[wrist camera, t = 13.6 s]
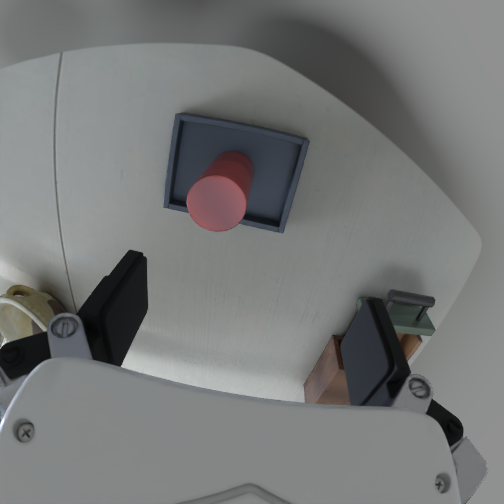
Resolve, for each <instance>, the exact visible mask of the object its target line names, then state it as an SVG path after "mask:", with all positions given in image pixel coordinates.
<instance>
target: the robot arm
mask: <svg viewBox="0 0 504 504" xmlns="http://www.w3.org/2000/svg"><path fill="white" fill-rule="evenodd" d="M147 310H148V290H147V258H146V257H145V256H143V253H142V252H138V251H134V250H129V251H128V252H127V253H126V254H125V256H124V257H123V258H122V259H121V260H120V262H119V263H118V264H117V265H116V267H115V268H114V269H113V271H112V272H111V273H110V274H109V276H105V277H104V278H103V279H102V280H101V282H100V283H99V284H98V285H97V287H96V288H95V289H94V291H93V292H92V293H91V295H90V296H89V297H88V299H87V300H86V301H85V303H84V304H83V305H82V307H81V308H80V310H79V311H78V312H77V314H76V315H75V314H73V313H60V314H58V315H56V316H54V317H53V318H52V319H51V320H50V321H49V323H48V325H47V331H45V332H41V333H38V334H35V335H31V336H28V337H24V338H21V339H17V340H14V341H10V342H8V343H6V344H5V345H3V346H2V347H1V349H0V504H466V503H467V501H468V500H469V499H470V498H471V496H472V495H473V494H474V492H475V491H476V490H477V488H478V487H479V486H480V484H481V483H482V481H483V480H484V478H485V477H486V475H487V471H488V467H487V463H486V461H485V460H484V459H483V457H482V456H481V455H480V453H479V452H478V451H477V449H476V448H475V447H474V445H473V444H472V443H471V442H470V440H469V439H468V438H467V437H465V438H463V426H462V423H461V422H460V420H459V419H458V418H457V417H456V416H454V415H453V414H452V413H450V412H449V411H448V410H446V409H445V408H444V407H442V406H441V405H440V404H438V403H437V402H436V401H434V400H433V399H432V397H433V388H432V385H431V383H430V382H429V381H428V380H427V379H426V378H425V377H423V376H421V375H418V374H411V375H410V373H409V370H410V368H409V365H408V362H407V360H406V357H405V354H404V352H403V349H402V346H401V344H400V341H399V339H398V336H397V334H396V331H395V329H394V326H393V324H392V321H391V319H390V316H389V314H388V312H387V309H386V307H385V305H384V302H383V300H382V299H379V298H373V297H369V298H368V299H367V300H364V301H363V303H362V305H361V307H360V308H359V310H358V312H357V314H356V316H355V318H354V320H353V322H352V324H351V325H350V327H349V329H348V331H347V333H346V335H345V336H344V338H343V340H342V342H341V346H340V349H341V354H342V359H343V365H344V370H345V375H346V381H347V387H348V393H349V399H350V405H351V406H349V405H327V404H312V403H301V402H290V401H281V400H273V399H265V398H258V397H251V396H244V395H238V394H232V393H226V392H221V391H216V390H210V389H205V388H201V387H196V386H191V385H187V384H182V383H178V382H174V381H170V380H166V379H162V378H158V377H154V376H151V375H147V374H143V373H139V372H136V371H132V370H129V369H125V368H122V367H121V365H122V363H123V360H124V358H125V356H126V354H127V352H128V350H129V348H130V346H131V343H132V341H133V339H134V337H135V335H136V333H137V331H138V329H139V327H140V325H141V323H142V321H143V319H144V317H145V315H146V313H147Z"/></svg>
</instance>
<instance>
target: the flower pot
mask: <svg viewBox="0 0 504 504" xmlns="http://www.w3.org/2000/svg"><path fill="white" fill-rule="evenodd" d="M3 339H4V336H3V335H2V334H1V332H0V347H1V345H2V342H3Z"/></svg>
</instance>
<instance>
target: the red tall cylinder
mask: <svg viewBox="0 0 504 504" xmlns="http://www.w3.org/2000/svg"><path fill="white" fill-rule="evenodd" d="M253 176H254V167H253V164H252V162H251V160H250V159H249V158H248V157H247V156H246V155H245V154H243V153H241V152H238V151H227V152H224V153H222V154H220V155H219V156H218V157H217V158H216V159H215V160H214V161H213V162H212V163H211V165H210V166H209V167H208V168H207V169H206V170H205V171H204V173H203V174H202V175H201V176H200V177H199V178H198V179H197V181H196V182H195V183H194V184H193V185H192V187H191V188H190V190H189V192H188V196H187V207H188V211H189V213H190V215H191V217H192V219H193V220H194V221H195V222H196V223H197V224H198V225H200V226H201V227H203V228H205V229H207V230H210V231H216V232H220V231H226V230H229V229H232V228H233V227H235V226H236V225H238V224H239V223H240V222H241V220H242V219H243V217H244V215H245V213H246V209H247V204H248V199H249V195H250V190H251V185H252V180H253Z"/></svg>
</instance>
